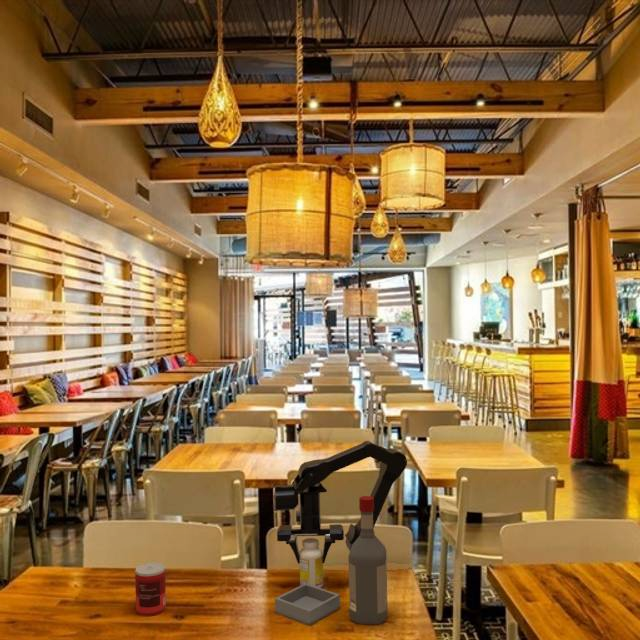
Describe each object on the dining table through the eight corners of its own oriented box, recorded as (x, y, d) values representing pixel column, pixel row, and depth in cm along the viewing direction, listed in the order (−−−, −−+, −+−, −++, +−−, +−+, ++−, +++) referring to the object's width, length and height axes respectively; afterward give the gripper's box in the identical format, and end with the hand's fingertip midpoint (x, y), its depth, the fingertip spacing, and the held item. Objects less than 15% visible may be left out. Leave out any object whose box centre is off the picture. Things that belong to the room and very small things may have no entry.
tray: (305, 596, 172) (305, 583, 172) (340, 608, 165) (339, 594, 165) (275, 612, 163) (274, 598, 163) (310, 625, 155) (309, 611, 155)
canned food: (156, 600, 171) (155, 560, 171) (171, 609, 166) (171, 567, 166) (130, 609, 166) (129, 568, 166) (145, 619, 160) (144, 576, 160)
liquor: (388, 609, 163) (385, 493, 163) (385, 626, 154) (383, 503, 154) (353, 607, 165) (350, 492, 165) (348, 623, 156) (346, 502, 156)
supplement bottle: (323, 580, 182) (322, 536, 182) (323, 590, 176) (322, 544, 176) (299, 581, 182) (299, 537, 182) (299, 591, 175) (299, 545, 175)
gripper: (341, 499, 187) (342, 552, 187) (279, 500, 187) (280, 553, 187) (343, 510, 176) (344, 566, 176) (276, 511, 176) (277, 567, 176)
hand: (311, 562), depth 179 cm, fingers closed on supplement bottle, 7 cm apart
